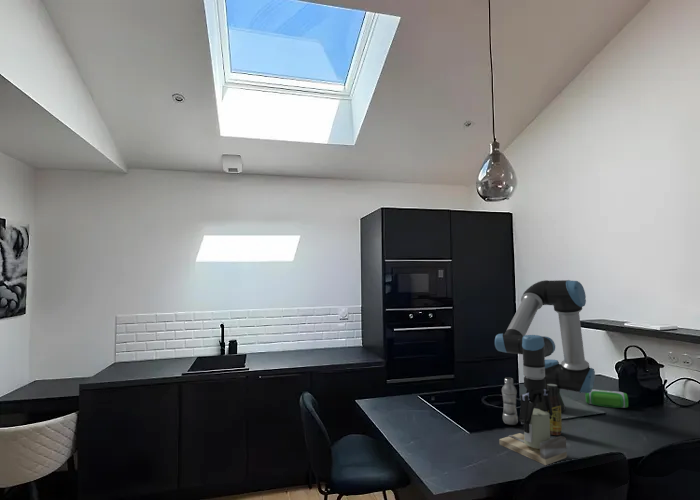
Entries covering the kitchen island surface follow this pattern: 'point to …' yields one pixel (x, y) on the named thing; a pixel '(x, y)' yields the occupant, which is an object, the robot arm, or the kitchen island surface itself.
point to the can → (539, 428)
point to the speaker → (607, 398)
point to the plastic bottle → (509, 402)
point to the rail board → (544, 455)
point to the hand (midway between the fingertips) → (537, 438)
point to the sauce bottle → (555, 410)
